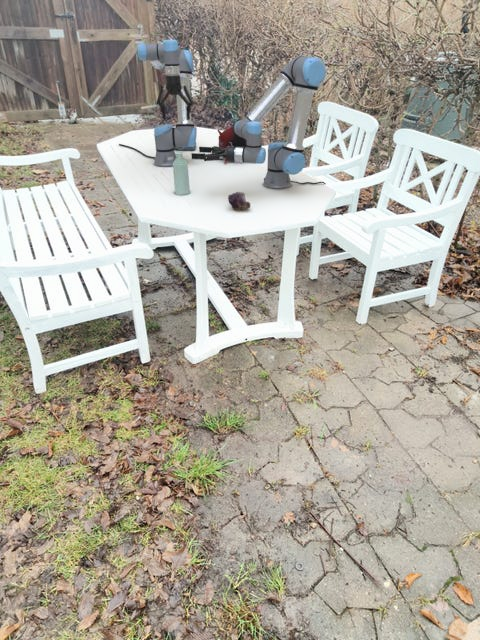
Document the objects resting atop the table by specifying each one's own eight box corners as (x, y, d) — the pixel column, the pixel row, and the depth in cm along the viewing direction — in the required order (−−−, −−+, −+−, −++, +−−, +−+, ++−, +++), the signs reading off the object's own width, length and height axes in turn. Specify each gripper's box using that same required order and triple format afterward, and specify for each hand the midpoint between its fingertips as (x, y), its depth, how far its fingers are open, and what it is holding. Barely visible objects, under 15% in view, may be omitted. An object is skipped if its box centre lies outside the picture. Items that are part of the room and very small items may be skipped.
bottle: (174, 195, 244) (170, 154, 232) (176, 190, 251) (172, 151, 239) (188, 194, 244) (185, 154, 232) (190, 190, 251) (187, 150, 239)
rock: (241, 205, 233) (224, 208, 228) (240, 189, 229) (223, 191, 225) (252, 209, 223) (235, 212, 219) (252, 191, 219) (234, 194, 215)
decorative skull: (215, 132, 306) (215, 129, 282) (249, 124, 305) (251, 121, 281) (222, 164, 313) (222, 164, 289) (255, 157, 312) (258, 156, 288)
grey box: (196, 150, 320) (194, 121, 309) (171, 151, 319) (168, 122, 308) (196, 145, 335) (194, 116, 324) (172, 145, 334) (169, 117, 322)
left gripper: (147, 75, 231) (152, 119, 243) (194, 76, 227) (197, 121, 239) (152, 73, 237) (156, 117, 249) (198, 74, 233) (200, 118, 245)
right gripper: (229, 169, 222) (188, 166, 226) (240, 155, 242) (202, 153, 246) (229, 153, 217) (187, 151, 221) (240, 141, 238) (201, 139, 241)
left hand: (176, 119), depth 244 cm, fingers open, 13 cm apart
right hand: (195, 152), depth 233 cm, fingers open, 13 cm apart
